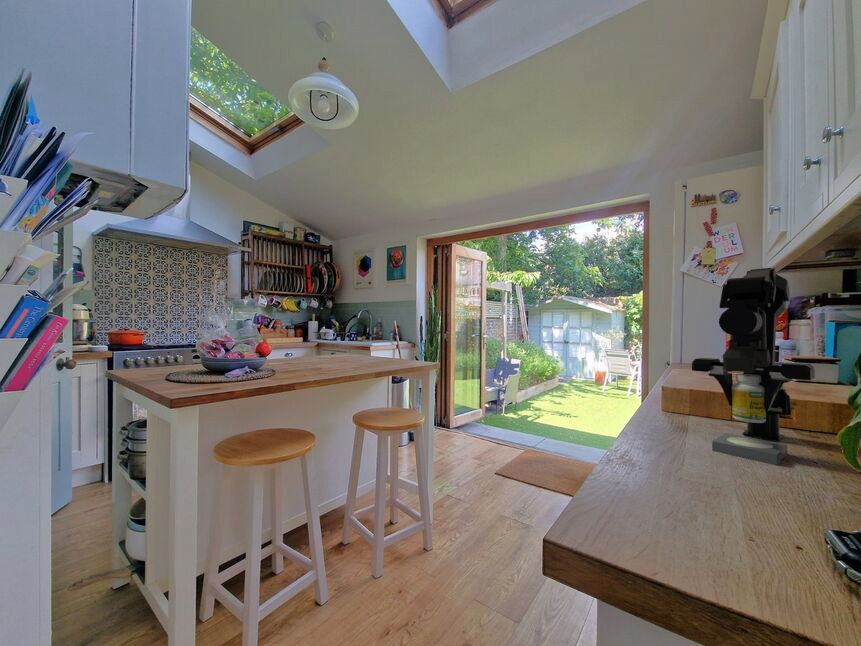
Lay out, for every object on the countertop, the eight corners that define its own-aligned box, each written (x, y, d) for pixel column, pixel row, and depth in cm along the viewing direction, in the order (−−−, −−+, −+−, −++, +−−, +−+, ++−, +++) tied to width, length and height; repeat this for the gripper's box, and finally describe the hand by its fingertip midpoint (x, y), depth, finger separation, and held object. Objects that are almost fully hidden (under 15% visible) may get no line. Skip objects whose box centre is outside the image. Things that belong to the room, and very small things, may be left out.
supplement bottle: (746, 416, 77) (746, 373, 77) (773, 422, 72) (772, 376, 72) (725, 417, 76) (725, 373, 76) (751, 423, 71) (750, 377, 71)
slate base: (726, 441, 81) (726, 432, 81) (787, 454, 73) (787, 444, 73) (712, 450, 75) (712, 440, 75) (776, 465, 67) (776, 454, 67)
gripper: (682, 335, 77) (683, 405, 77) (804, 336, 62) (806, 424, 62) (699, 334, 84) (700, 399, 83) (814, 335, 69) (815, 415, 68)
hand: (748, 408), depth 74 cm, fingers closed on supplement bottle, 5 cm apart
